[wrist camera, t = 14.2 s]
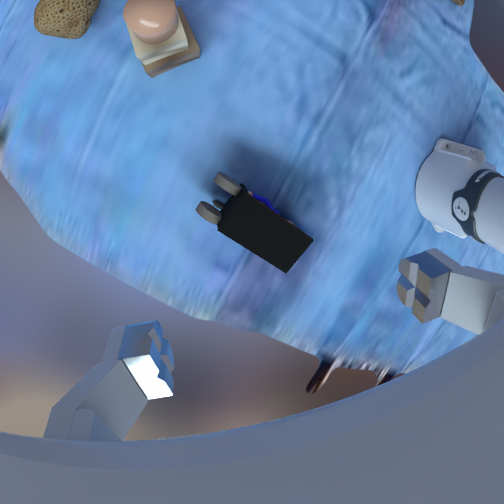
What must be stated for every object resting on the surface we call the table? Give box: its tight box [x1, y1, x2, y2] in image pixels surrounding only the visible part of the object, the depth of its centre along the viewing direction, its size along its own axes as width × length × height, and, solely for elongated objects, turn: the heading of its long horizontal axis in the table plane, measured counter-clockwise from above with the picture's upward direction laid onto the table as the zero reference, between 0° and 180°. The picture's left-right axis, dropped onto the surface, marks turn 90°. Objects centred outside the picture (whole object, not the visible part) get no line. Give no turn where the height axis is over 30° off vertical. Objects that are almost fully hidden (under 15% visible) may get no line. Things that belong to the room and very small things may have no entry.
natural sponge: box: [34, 0, 100, 39], centre depth 22 cm, size 9×9×10 cm
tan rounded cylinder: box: [123, 0, 179, 44], centre depth 20 cm, size 5×5×5 cm
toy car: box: [196, 172, 314, 273], centre depth 41 cm, size 7×8×15 cm
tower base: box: [142, 6, 200, 78], centre depth 29 cm, size 7×7×5 cm
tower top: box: [126, 12, 189, 65], centre depth 25 cm, size 6×6×5 cm
